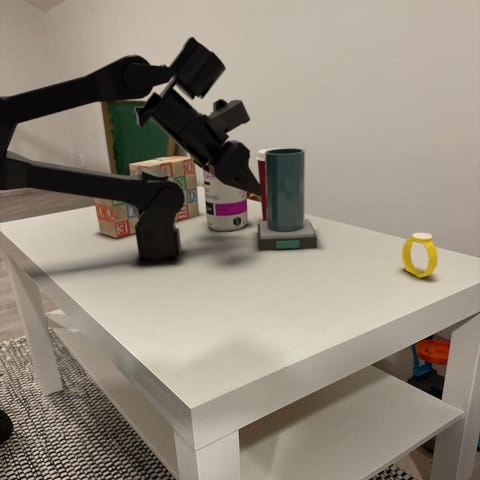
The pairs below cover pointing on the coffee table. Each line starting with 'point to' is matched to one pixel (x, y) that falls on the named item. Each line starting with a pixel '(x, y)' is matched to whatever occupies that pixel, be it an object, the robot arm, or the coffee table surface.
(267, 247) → the scale
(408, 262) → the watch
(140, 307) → the coffee table surface
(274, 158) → the ceramic cup
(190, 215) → the stack of blocks
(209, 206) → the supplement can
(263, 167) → the paper cup
